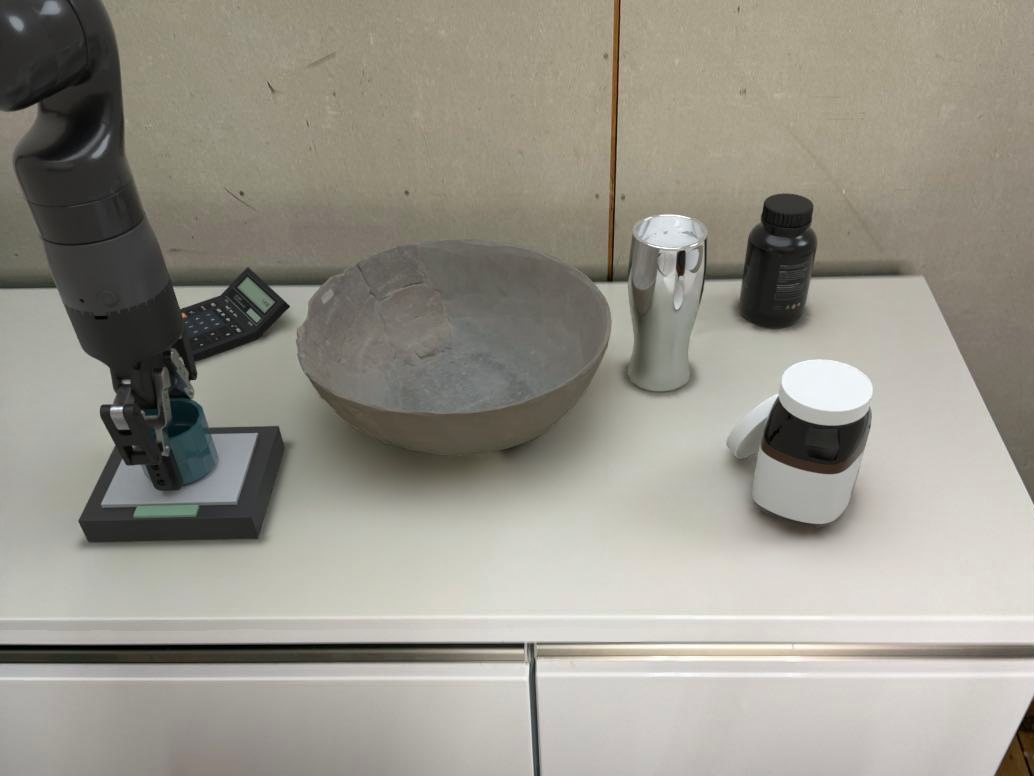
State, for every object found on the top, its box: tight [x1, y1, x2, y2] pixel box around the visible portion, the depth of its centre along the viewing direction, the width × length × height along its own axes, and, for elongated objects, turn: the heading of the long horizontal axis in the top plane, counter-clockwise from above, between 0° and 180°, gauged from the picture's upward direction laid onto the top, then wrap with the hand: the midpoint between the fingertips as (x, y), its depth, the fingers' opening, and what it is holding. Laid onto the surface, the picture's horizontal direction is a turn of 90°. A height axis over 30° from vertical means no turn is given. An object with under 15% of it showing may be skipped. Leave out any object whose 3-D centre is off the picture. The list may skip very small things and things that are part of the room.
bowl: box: [295, 238, 613, 457], centre depth 88 cm, size 28×28×10 cm
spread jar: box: [725, 358, 874, 528], centre depth 78 cm, size 12×11×12 cm
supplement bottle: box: [738, 192, 818, 328], centre depth 98 cm, size 7×7×12 cm
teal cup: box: [141, 398, 218, 486], centre depth 79 cm, size 6×6×5 cm
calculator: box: [180, 266, 291, 363], centre depth 101 cm, size 9×12×3 cm
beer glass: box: [627, 213, 709, 393], centre depth 89 cm, size 7×7×15 cm
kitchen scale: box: [77, 425, 285, 543], centre depth 82 cm, size 14×12×3 cm
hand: (180, 461), depth 80 cm, fingers closed on teal cup, 6 cm apart
